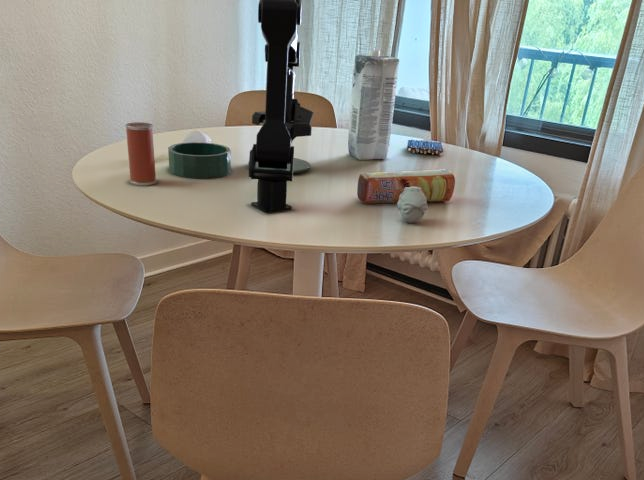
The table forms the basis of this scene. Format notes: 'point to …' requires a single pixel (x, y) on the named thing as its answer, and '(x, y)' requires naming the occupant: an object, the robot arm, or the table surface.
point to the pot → (199, 160)
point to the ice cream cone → (196, 137)
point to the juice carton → (372, 105)
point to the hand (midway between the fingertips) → (279, 159)
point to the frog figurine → (412, 204)
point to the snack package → (405, 185)
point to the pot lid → (297, 166)
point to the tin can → (141, 153)
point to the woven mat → (425, 146)
